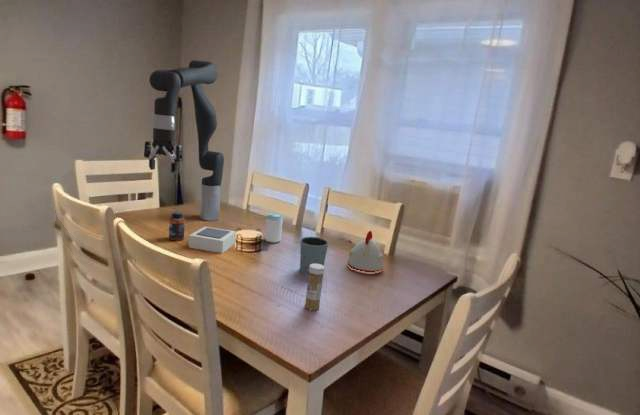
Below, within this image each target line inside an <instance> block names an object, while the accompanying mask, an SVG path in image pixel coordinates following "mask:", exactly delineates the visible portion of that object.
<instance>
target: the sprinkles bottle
mask: <svg viewBox="0 0 640 415" xmlns="http://www.w3.org/2000/svg"><path fill="white" fill-rule="evenodd" d="M325 268H326V267H325V265H324V266H323V265H321V264H311V265H310V266H309V276H308V281H307V286H306V295H305V302H304V303H305V304H304V307H305V309H307V310H309V309H311V310H310V311H317V310H319V309H318V308H320V302H321V297H322V296H321V295H322V294H321V293H322V288H323V278H324V274H325ZM316 309H317V310H316Z"/></svg>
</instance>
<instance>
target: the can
mask: <svg viewBox="0 0 640 415" xmlns="http://www.w3.org/2000/svg"><path fill="white" fill-rule="evenodd" d="M282 216H283V215H282V214H281V213H276V212H270V213H268V215H267V217H266V221H265V230H264V231H265V232H264V233H265V234H264V240H265V241H266V242H268V243H272V244H273V243H274V244H275V243H279V242H280V241H282V233H283V232H282V230H283V222H284V220H283V217H282Z"/></svg>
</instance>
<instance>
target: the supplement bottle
mask: <svg viewBox="0 0 640 415" xmlns="http://www.w3.org/2000/svg"><path fill="white" fill-rule="evenodd" d="M171 215H172V216H171V217H170V218H169V222H168V223H169V228H168V229H169V230H168V233H169V234H168V239H169V240H171V241H175V242H177V241H183V240H184V239H185V226H186V224H185V223H186V220H185V218H184V215H183V212H182V211H172V213H171Z"/></svg>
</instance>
